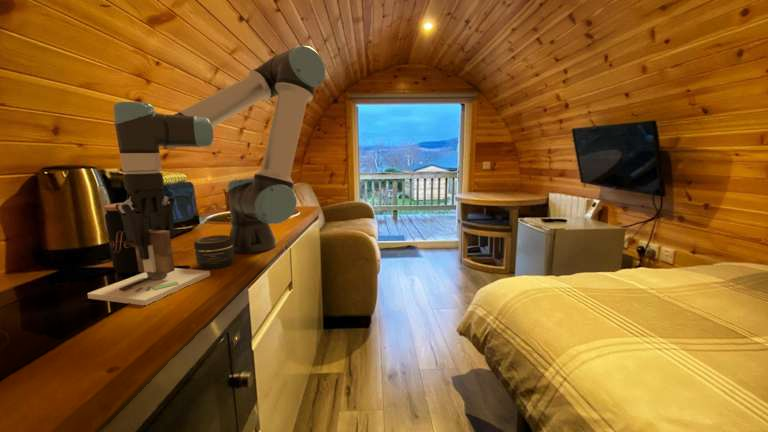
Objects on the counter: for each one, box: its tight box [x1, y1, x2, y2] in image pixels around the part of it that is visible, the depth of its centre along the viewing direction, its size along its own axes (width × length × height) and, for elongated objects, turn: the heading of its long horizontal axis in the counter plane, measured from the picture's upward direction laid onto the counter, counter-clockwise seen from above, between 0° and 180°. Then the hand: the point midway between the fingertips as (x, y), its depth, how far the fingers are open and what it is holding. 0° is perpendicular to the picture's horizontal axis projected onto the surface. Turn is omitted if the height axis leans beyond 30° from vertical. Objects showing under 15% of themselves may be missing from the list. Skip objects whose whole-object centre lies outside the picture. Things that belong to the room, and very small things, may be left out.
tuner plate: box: [87, 267, 211, 306], centre depth 80 cm, size 18×16×1 cm
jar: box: [193, 234, 235, 271], centre depth 94 cm, size 10×10×8 cm
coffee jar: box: [103, 202, 154, 274], centre depth 92 cm, size 11×11×18 cm
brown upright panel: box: [119, 230, 175, 291], centre depth 77 cm, size 11×8×12 cm
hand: (156, 268), depth 81 cm, fingers closed on brown upright panel, 3 cm apart
